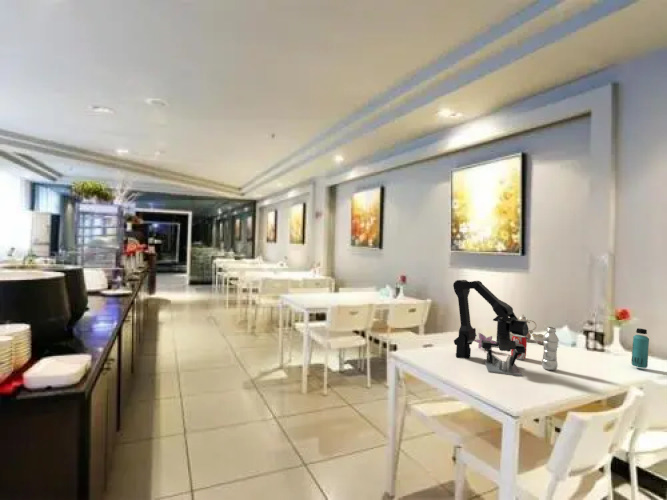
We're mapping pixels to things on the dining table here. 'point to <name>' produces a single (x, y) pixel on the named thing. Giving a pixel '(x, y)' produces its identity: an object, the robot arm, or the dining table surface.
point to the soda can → (520, 340)
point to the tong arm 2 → (509, 361)
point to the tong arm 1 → (495, 361)
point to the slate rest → (503, 368)
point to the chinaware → (537, 337)
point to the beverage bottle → (640, 349)
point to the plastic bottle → (550, 349)
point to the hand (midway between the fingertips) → (501, 364)
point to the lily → (482, 337)
